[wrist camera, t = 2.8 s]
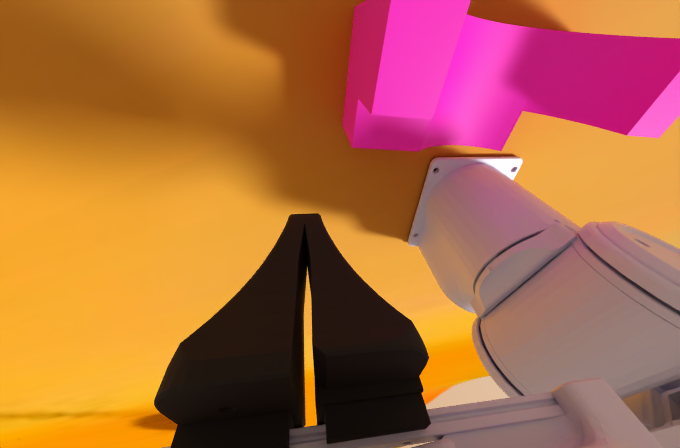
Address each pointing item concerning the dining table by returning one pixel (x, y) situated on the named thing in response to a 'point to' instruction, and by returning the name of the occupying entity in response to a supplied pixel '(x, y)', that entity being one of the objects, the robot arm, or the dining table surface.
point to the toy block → (495, 78)
